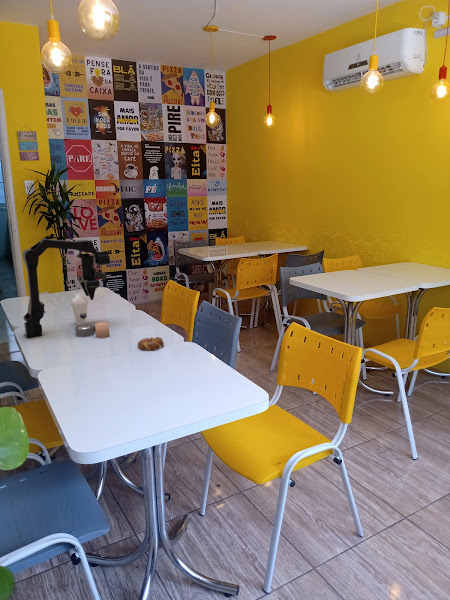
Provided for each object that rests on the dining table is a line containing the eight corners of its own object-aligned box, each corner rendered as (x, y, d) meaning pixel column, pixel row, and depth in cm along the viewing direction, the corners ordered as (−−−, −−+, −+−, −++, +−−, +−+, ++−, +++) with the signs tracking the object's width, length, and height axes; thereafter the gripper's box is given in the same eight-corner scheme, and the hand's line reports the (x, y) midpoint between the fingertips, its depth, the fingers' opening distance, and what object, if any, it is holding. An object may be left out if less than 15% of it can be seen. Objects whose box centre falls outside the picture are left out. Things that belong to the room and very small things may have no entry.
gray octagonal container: (79, 337, 203) (78, 330, 202) (74, 333, 209) (73, 326, 208) (99, 334, 209) (99, 326, 208) (94, 330, 215) (93, 322, 214)
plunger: (80, 330, 204) (78, 316, 202) (76, 328, 208) (75, 313, 207) (92, 328, 207) (91, 314, 205) (88, 325, 211) (87, 311, 210)
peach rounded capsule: (98, 338, 202) (97, 326, 201) (94, 335, 207) (93, 323, 205) (111, 336, 205) (110, 324, 204) (106, 333, 210) (105, 320, 209)
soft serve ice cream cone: (86, 326, 221) (84, 294, 217) (70, 326, 221) (67, 294, 217) (92, 321, 229) (89, 291, 225) (75, 321, 229) (73, 291, 225)
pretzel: (153, 341, 200) (152, 333, 199) (170, 346, 193) (169, 338, 192) (131, 348, 191) (131, 339, 190) (148, 353, 184) (148, 344, 183)
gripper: (109, 267, 211) (111, 300, 214) (99, 262, 226) (101, 292, 230) (85, 269, 205) (87, 302, 209) (76, 264, 221) (78, 294, 224)
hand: (89, 297), depth 218 cm, fingers open, 9 cm apart
